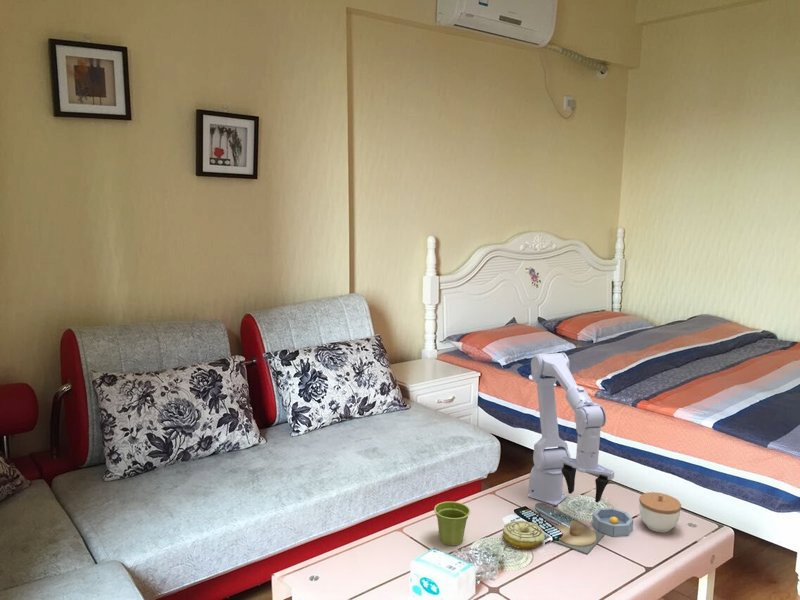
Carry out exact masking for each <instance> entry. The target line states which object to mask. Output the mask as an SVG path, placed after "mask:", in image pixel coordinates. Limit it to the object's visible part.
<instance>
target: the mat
mask: <svg viewBox="0 0 800 600" xmlns="http://www.w3.org/2000/svg"><path fill="white" fill-rule="evenodd" d="M556 526H558V524H557V525H556ZM591 530H592V531H594V533H595V534H596V541H595V543H593V544H592V545H589V546H583V547H578V546H571V545H568V544H565V543H563V542H561V541H554V542H553V544H557V545H559V546H562V547H565V548H568V549H571V550H572V551H576V552H579V553H581V554H584V555H589V553H591V551H592V550H593V549H594V548H595V547H596V546H597V545H598V543H599V542H600V541H602V539H603V538H604V537H605V534H604V533H601V532H599V531H597V530H594V529H591Z"/></svg>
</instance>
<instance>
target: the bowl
mask: <svg viewBox="0 0 800 600" xmlns="http://www.w3.org/2000/svg"><path fill="white" fill-rule="evenodd" d="M591 518H592V521H591V524H592V525H593V527H594V528H595V530H596V531H597V532H600V533H602V534H604V535H606V536H607V535H608V536H611V537H627V536H629V534H631V532H632V531H633V529H634V518H633V517H632V516H631V515H630V514H629V513H628V512H627V511H624V510H620V509H617V508H616V507H615V508H614V507H598V508H597V509H595V510H594V512H593V513H592V517H591Z"/></svg>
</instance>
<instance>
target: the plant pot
mask: <svg viewBox="0 0 800 600" xmlns="http://www.w3.org/2000/svg"><path fill="white" fill-rule="evenodd" d="M433 511H434V513H435V516H436V520H437V525H438V526H437V527H438V534H439V536H438V537H439V541H440V542H441V543H442V544H444V545H447V546H455V545H456V546H459V545H461V544H462V543H463V540H464V535H465V529H466V525H467V520H468V519H469V516H470V515H471V509H470V508H469V506H467V505H466V504H465V503H463V502H462V503H461V502H457V501H443V502H440V503H437V504H436V505H435V506H434V510H433Z"/></svg>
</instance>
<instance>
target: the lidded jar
mask: <svg viewBox="0 0 800 600" xmlns="http://www.w3.org/2000/svg"><path fill="white" fill-rule="evenodd" d="M638 506H639V507H638V509H639V516H640V519H641V520H642V522H643V523H644V525H645V526H646V527H647V529H649V530H650V531H653V532H656V533H659V534H660V533H661V534H662V533H668V532H669V531H671V530H672V529H674V528H675V526H677V524H678V523H679V522H678V521H679V519H680V515H681V509H682V504H681V502H680V500H678V499H677V498H675V497H674V496H671V495H669V494H666V493H662V492H655V491H654V492H645V493H642V494H641V495H640V496H639V505H638Z"/></svg>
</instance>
